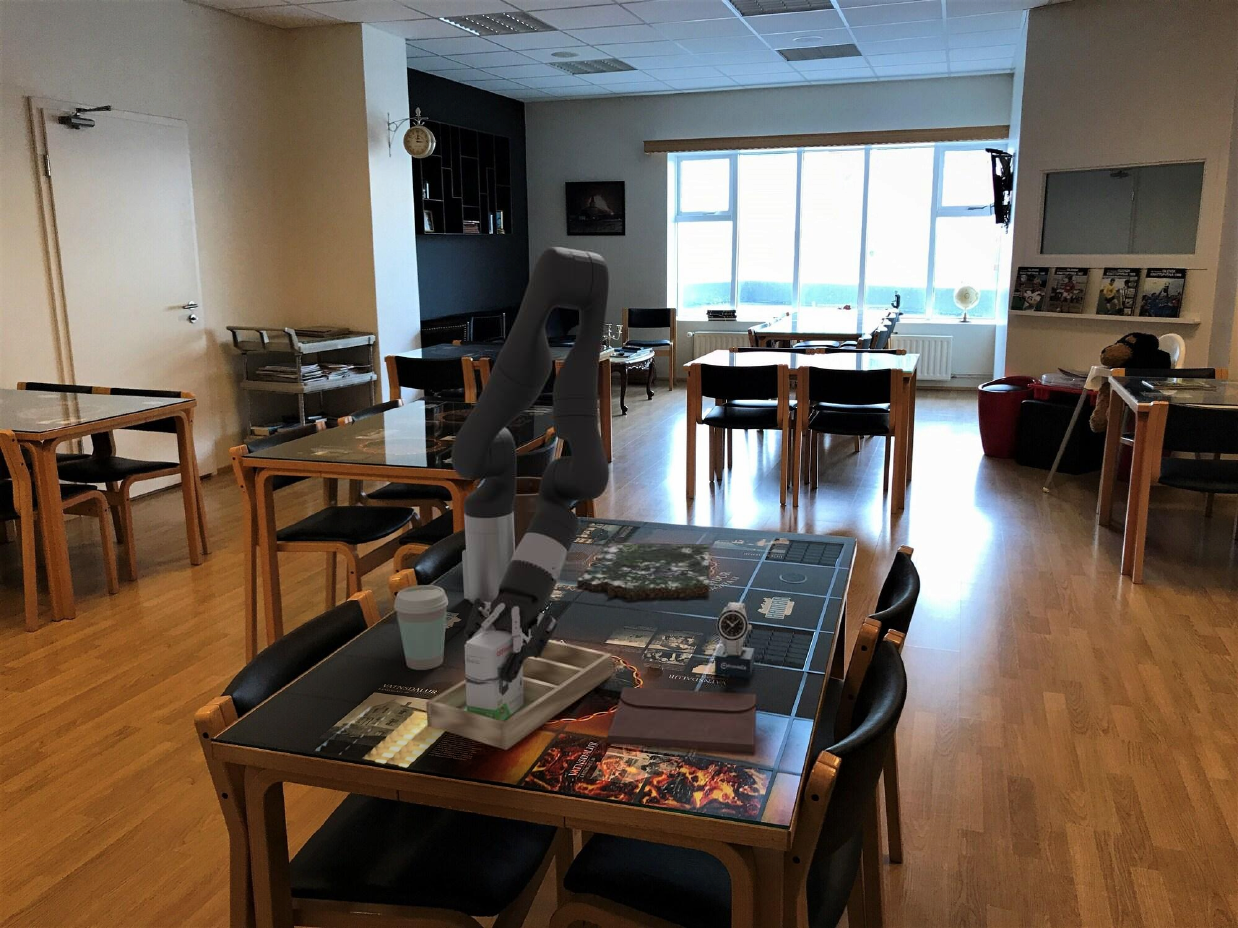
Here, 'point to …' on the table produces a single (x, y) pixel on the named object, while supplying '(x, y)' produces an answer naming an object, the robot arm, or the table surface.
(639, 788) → the table surface
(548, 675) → the compartment tray
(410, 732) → the table surface
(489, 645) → the ink box
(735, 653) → the watch
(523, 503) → the plant pot
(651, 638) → the table surface
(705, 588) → the topographical map
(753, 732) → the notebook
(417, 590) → the coffee cup
